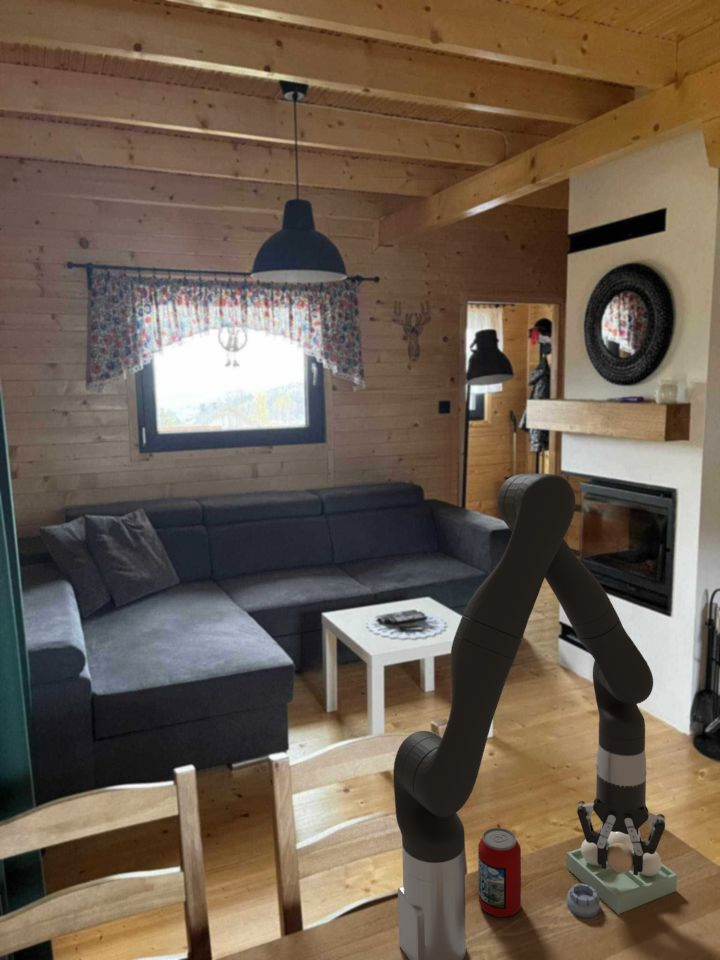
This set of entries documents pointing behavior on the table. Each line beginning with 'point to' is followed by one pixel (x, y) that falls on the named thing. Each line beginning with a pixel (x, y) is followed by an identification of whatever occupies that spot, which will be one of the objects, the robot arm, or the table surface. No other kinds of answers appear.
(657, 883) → the egg carton
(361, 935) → the table surface
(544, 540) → the robot arm
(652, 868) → the white egg
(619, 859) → the brown egg
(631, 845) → the white egg
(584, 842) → the white egg
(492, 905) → the beverage can
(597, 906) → the egg cup
